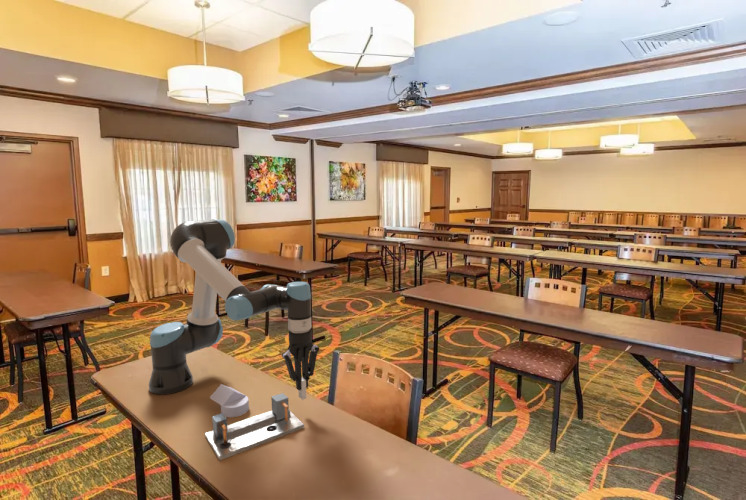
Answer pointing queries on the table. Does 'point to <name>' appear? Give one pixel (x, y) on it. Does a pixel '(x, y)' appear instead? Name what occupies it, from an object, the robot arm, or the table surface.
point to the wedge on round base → (231, 401)
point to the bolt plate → (248, 432)
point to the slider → (280, 406)
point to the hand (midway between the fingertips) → (302, 397)
